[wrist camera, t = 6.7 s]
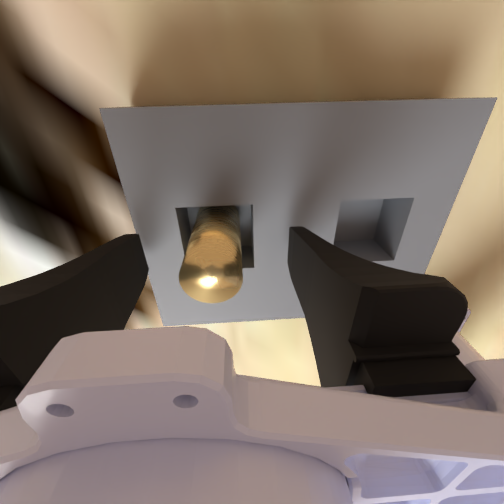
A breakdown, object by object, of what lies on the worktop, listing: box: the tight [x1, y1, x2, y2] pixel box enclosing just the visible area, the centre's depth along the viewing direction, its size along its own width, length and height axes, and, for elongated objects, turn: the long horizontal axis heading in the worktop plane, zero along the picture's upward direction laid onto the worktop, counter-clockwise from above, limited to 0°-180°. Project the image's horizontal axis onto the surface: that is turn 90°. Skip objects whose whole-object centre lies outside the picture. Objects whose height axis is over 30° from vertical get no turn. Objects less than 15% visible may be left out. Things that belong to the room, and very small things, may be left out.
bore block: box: [99, 98, 497, 326], centre depth 14 cm, size 12×16×3 cm
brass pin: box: [179, 205, 243, 303], centre depth 12 cm, size 2×2×6 cm
